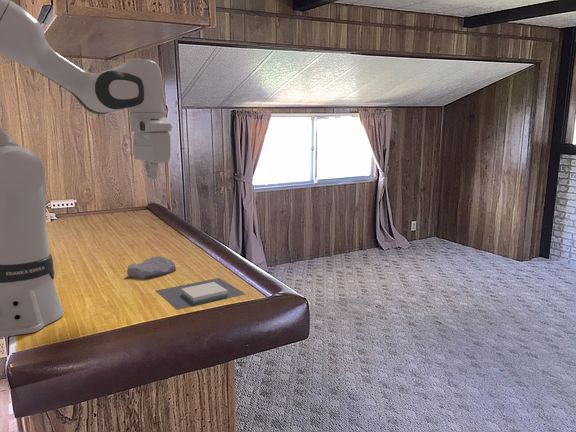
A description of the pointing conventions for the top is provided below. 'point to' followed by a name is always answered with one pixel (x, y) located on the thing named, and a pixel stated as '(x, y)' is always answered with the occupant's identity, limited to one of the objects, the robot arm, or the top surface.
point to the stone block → (151, 268)
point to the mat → (175, 294)
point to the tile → (204, 292)
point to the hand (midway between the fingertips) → (152, 178)
